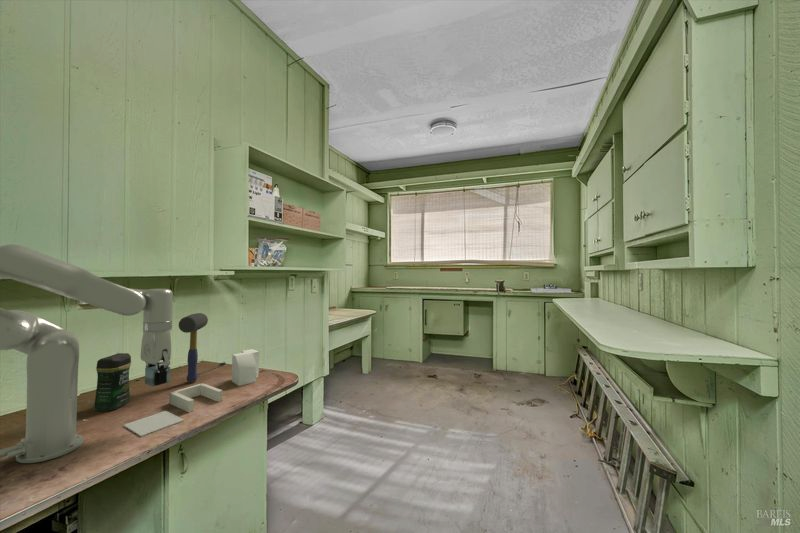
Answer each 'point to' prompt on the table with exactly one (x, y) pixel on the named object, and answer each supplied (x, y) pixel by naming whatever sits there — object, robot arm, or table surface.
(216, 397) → the bay
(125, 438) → the table surface
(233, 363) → the corner bracket
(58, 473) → the table surface
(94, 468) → the table surface
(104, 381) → the coffee jar
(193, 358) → the rubber mallet
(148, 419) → the mat
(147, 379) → the block
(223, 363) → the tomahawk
